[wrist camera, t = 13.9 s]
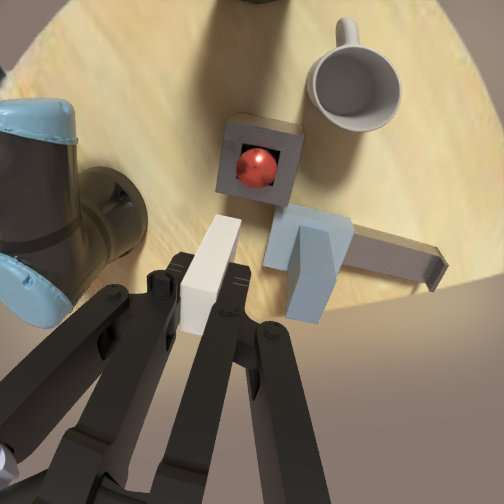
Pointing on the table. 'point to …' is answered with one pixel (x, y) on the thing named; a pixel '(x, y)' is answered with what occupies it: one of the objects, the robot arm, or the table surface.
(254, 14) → the table surface
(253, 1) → the bottle
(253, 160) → the plunger
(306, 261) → the carriage
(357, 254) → the rail
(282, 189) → the grey cube box
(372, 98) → the mug
